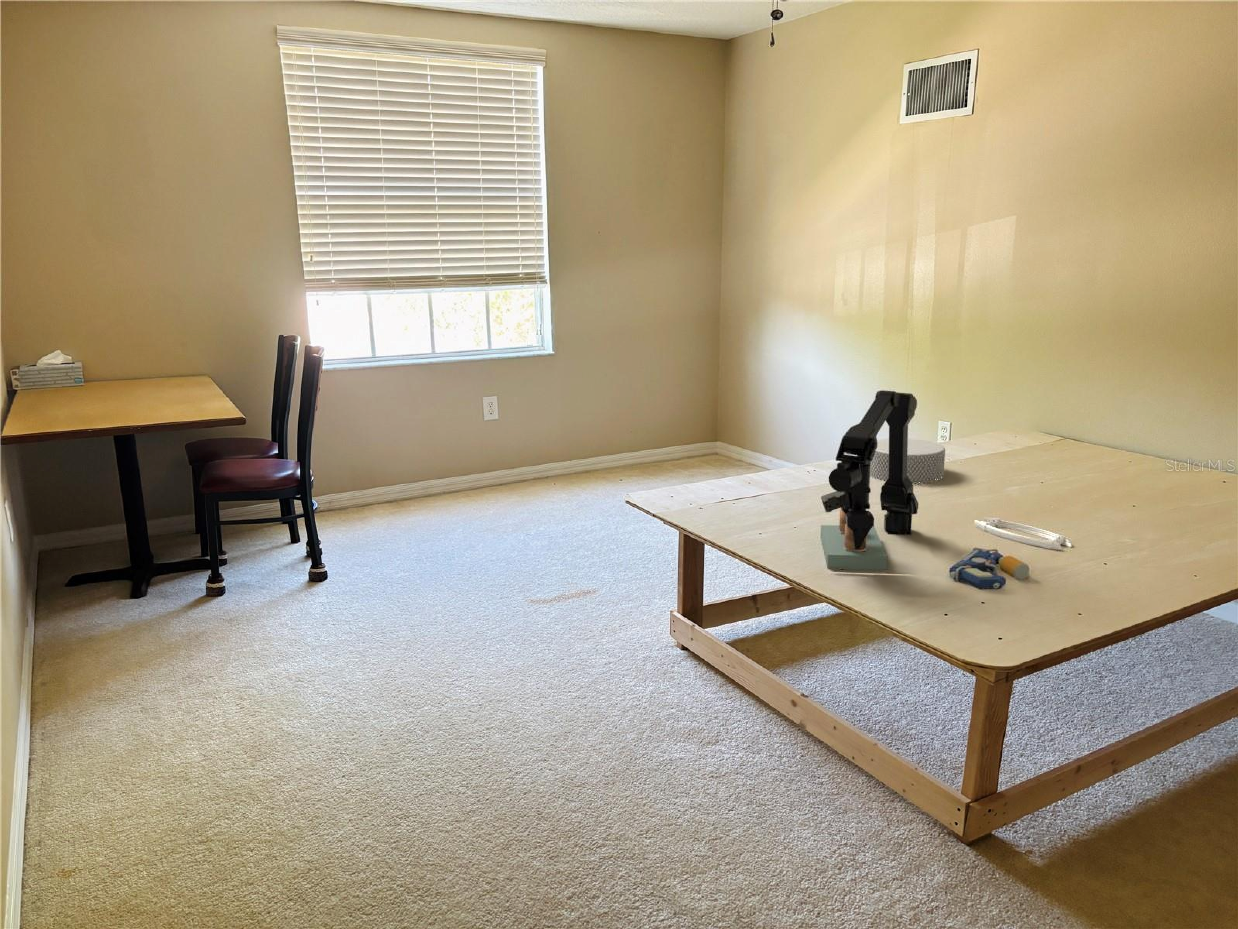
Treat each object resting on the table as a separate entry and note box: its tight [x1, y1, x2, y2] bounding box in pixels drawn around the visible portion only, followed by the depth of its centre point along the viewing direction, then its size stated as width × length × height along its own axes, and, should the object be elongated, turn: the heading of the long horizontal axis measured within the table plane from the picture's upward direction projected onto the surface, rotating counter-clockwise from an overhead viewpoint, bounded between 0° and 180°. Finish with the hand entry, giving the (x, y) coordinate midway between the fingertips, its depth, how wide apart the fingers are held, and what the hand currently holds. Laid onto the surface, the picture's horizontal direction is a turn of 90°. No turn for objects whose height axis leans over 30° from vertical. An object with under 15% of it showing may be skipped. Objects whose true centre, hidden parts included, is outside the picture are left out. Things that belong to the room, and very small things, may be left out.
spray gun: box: [948, 547, 1030, 590], centre depth 199 cm, size 21×4×15 cm
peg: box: [844, 524, 866, 552], centre depth 208 cm, size 5×5×10 cm
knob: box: [870, 438, 946, 484], centre depth 288 cm, size 25×10×25 cm
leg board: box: [820, 524, 888, 571], centre depth 215 cm, size 14×23×4 cm, turn 171°
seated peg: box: [838, 508, 846, 534], centre depth 221 cm, size 5×5×10 cm
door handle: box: [973, 517, 1073, 552], centre depth 225 cm, size 3×10×25 cm
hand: (855, 542), depth 208 cm, fingers open, 9 cm apart
